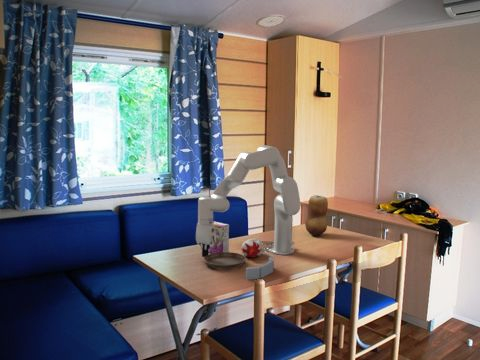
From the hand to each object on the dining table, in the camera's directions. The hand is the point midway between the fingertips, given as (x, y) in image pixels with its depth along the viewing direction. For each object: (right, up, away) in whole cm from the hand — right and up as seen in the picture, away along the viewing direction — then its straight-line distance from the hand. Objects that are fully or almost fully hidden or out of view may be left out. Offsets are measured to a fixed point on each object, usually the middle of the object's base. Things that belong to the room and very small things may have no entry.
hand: (205, 256), depth 221 cm
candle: (+24, -1, +5) cm, 25 cm away
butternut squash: (+65, +4, +50) cm, 82 cm away
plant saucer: (+10, -3, -7) cm, 13 cm away
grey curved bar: (+28, -5, -20) cm, 35 cm away
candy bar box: (+6, 0, +9) cm, 11 cm away
